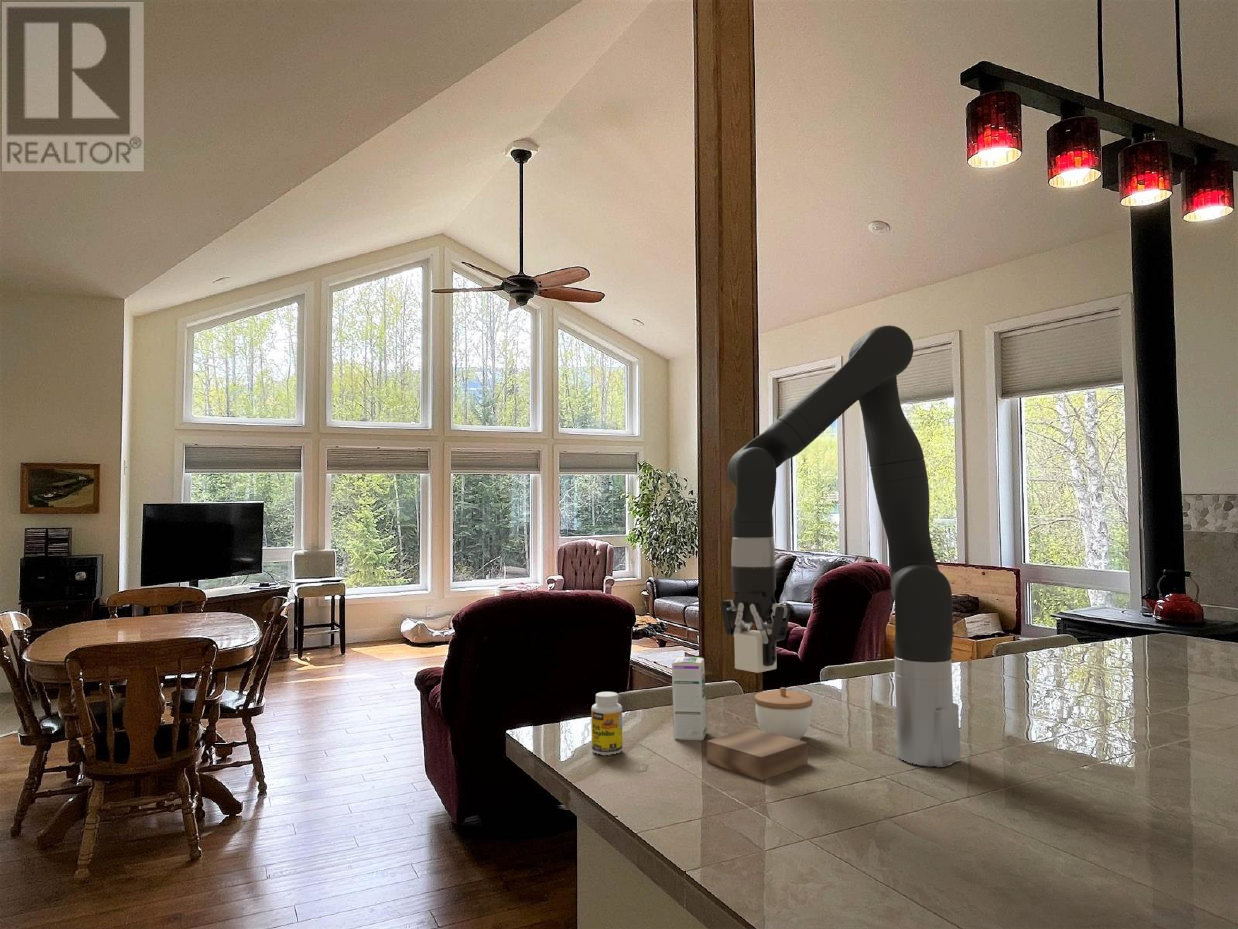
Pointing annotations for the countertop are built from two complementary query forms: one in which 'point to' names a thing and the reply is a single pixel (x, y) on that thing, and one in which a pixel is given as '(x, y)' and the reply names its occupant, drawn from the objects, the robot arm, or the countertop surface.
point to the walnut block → (757, 753)
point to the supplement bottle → (606, 724)
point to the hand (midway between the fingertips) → (755, 662)
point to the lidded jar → (784, 712)
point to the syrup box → (689, 698)
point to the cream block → (750, 652)
